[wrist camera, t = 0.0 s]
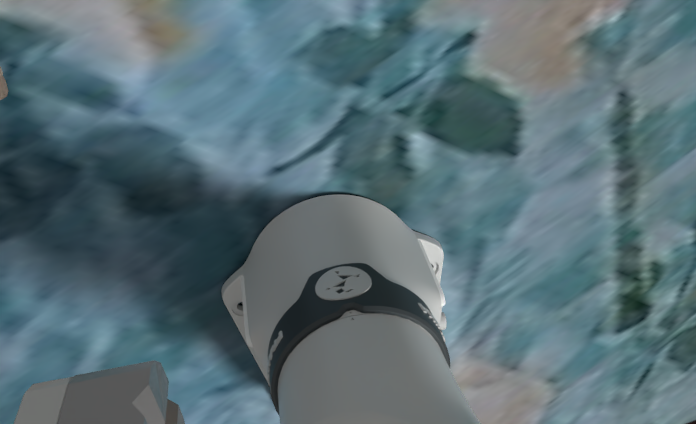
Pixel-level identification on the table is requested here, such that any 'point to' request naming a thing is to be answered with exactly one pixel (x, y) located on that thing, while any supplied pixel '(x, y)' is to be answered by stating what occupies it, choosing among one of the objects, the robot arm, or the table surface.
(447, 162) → the table surface
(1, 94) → the brick
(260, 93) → the table surface
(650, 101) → the table surface
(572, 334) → the table surface
